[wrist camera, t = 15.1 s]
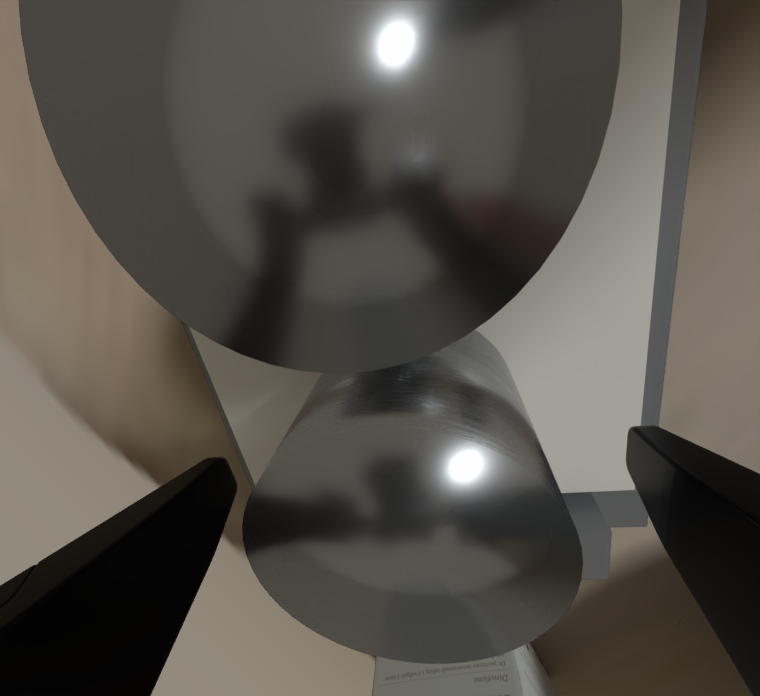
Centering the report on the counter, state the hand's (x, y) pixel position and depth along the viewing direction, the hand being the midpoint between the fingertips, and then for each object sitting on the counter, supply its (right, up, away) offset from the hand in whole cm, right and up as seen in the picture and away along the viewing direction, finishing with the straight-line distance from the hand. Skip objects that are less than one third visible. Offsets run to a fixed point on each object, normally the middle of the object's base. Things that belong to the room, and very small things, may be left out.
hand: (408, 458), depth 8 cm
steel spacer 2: (0, +1, +2) cm, 3 cm away
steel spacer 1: (-1, +7, 0) cm, 7 cm away
